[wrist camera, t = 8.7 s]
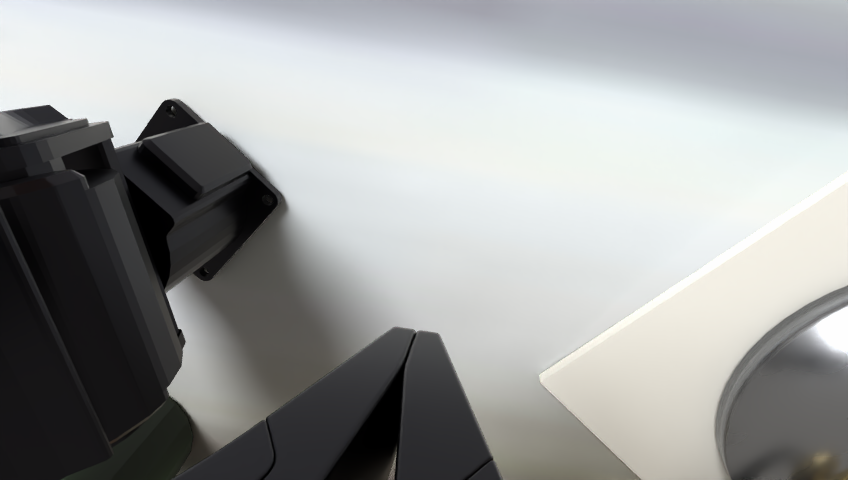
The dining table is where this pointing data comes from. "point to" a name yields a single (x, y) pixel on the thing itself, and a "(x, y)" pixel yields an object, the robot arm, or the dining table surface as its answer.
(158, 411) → the potion bottle
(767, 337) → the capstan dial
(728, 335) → the level stand
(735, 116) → the dining table surface
